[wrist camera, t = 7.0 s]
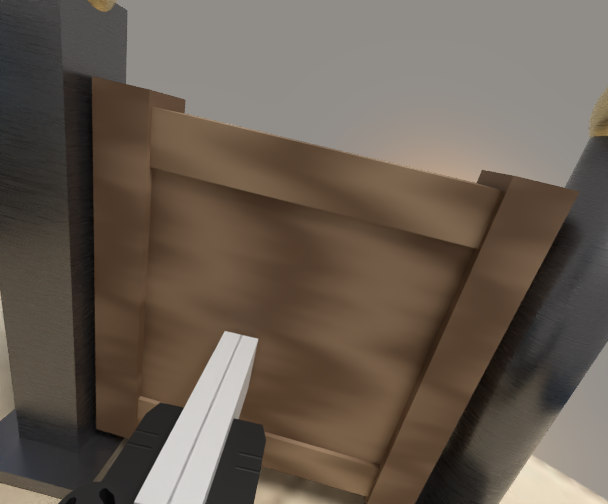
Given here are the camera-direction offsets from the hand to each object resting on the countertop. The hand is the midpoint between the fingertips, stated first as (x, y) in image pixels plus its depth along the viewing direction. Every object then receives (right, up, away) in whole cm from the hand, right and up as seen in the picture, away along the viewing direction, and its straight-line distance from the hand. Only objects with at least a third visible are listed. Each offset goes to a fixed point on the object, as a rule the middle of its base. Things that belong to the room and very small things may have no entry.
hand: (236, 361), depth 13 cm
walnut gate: (0, -6, +3) cm, 7 cm away
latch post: (-10, -5, +4) cm, 11 cm away
